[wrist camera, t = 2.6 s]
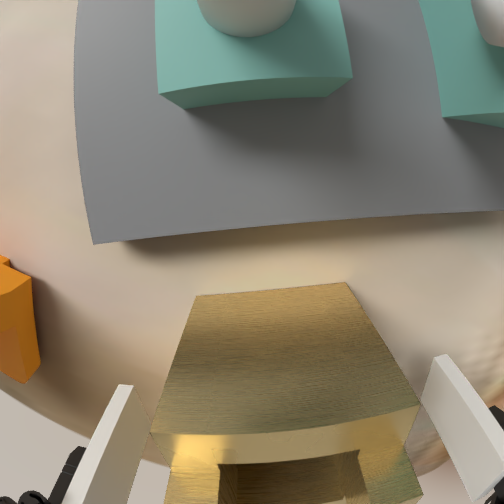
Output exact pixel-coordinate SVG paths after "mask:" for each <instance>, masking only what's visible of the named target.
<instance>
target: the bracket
mask: <svg viewBox="0 0 504 504" xmlns="http://www.w3.org/2000/svg"><path fill="white" fill-rule="evenodd" d="M40 364H41V361H40V355H39V349H38V343H37V336H36V329H35V320H34V311H33V299H32V284H31V277H30V276H27V275H25V274H23V273H21V272H19V271H16V270H14V269H12V268H10V259H8V258H6V257H4V256H1V255H0V371H2V372H3V373H5V374H6V375H8V376H10V377H11V378H13V379H15V380H16V381H18V382H20V383H23V384H25V383H26V382H27V381H28V380H29V378H30V377H31V376H32V375H33V373H34V372H35V371H36V370H37V369H38V367H39V366H40Z"/></svg>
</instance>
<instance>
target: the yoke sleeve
mask: <svg viewBox="0 0 504 504" xmlns="http://www.w3.org/2000/svg"><path fill="white" fill-rule="evenodd" d="M420 405H421V404H420V402H419V400H418V398H417V397H416V395H415V393H414V391H413V390H412V388H411V386H410V384H409V383H408V381H407V379H406V378H405V376H404V374H403V373H402V371H401V369H400V368H399V366H398V364H397V363H396V361H395V359H394V358H393V356H392V354H391V353H390V351H389V349H388V348H387V346H386V345H385V343H384V341H383V340H382V338H381V337H380V335H379V333H378V332H377V330H376V329H375V327H374V326H373V324H372V322H371V321H370V319H369V318H368V316H367V315H366V313H365V312H364V310H363V309H362V307H361V305H360V304H359V302H358V301H357V299H356V298H355V296H354V295H353V293H352V292H351V290H350V289H349V287H348V286H347V284H346V283H345V282H343V283H334V284H325V285H316V286H307V287H297V288H287V289H277V290H266V291H255V292H243V293H231V294H218V295H204V296H196V298H195V301H194V303H193V306H192V309H191V312H190V314H189V317H188V320H187V323H186V325H185V328H184V331H183V334H182V337H181V340H180V342H179V345H178V348H177V351H176V354H175V357H174V360H173V362H172V365H171V368H170V371H169V374H168V377H167V380H166V383H165V386H164V389H163V392H162V395H161V398H160V401H159V404H158V407H157V410H156V413H155V416H154V419H153V422H152V426H151V429H150V434H151V436H152V437H153V439H154V441H155V443H156V445H157V446H158V448H159V450H160V452H161V453H162V455H163V457H164V459H165V460H166V462H167V464H168V465H169V467H170V469H171V471H170V476H169V481H168V485H167V490H166V495H165V500H164V504H416V503H417V502H418V501H419V500H420V499H421V497H422V496H423V492H422V490H421V487H420V485H419V482H418V480H417V477H416V475H415V472H414V470H413V467H412V465H411V462H410V460H409V457H408V455H407V453H406V450H405V448H404V443H405V441H406V439H407V437H408V435H409V432H410V430H411V428H412V425H413V423H414V420H415V418H416V415H417V413H418V410H419V408H420Z"/></svg>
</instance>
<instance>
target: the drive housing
mask: <svg viewBox="0 0 504 504" xmlns="http://www.w3.org/2000/svg"><path fill="white" fill-rule="evenodd" d="M74 108H75V125H76V138H77V149H78V158H79V166H80V174H81V181H82V188H83V194H84V200H85V206H86V211H87V217H88V222H89V227H90V232H91V236H92V241H93V245H94V244H102V243H110V242H118V241H127V240H135V239H143V238H152V237H161V236H170V235H179V234H188V233H198V232H207V231H217V230H227V229H237V228H248V227H258V226H269V225H281V224H292V223H304V222H316V221H329V220H342V219H355V218H369V217H384V216H400V215H417V214H434V213H454V212H476V211H502V210H504V0H78V8H77V17H76V29H75V45H74Z"/></svg>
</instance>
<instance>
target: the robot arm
mask: <svg viewBox="0 0 504 504" xmlns="http://www.w3.org/2000/svg"><path fill="white" fill-rule="evenodd" d="M420 401H421V402H422V404H423V406H424V408H425V410H426V411H427V413H428V415H429V417H430V419H431V421H432V423H433V424H434V426H435V428H436V430H437V432H438V434H439V436H440V438H441V440H442V442H443V444H444V445H445V447H446V449H447V451H448V453H449V455H450V457H451V459H452V461H453V463H454V466H455V468H456V470H457V472H458V474H459V476H460V478H461V480H462V482H463V485H464V487H465V489H466V491H467V493H468V496H469V498H470V500H471V502H472V503H473V502H474V501H476V500H478V499H480V498H482V497H484V496H485V495H487V494H488V493H489V492H490V491H491V490H492V489H493V488H494V490H495V492H494V493H493V494H492V496H490V497H489V498H488V499H487V500H486V502H485V504H488V503H489V502H490V501H491V503H490V504H504V412H503V411H502V410H500V409H499V408H497V407H496V406H495V405H494V406H492V407H490V408H487V406H486V405H485V403H484V402H483V401H482V399H481V398H480V396H479V395H478V394H477V392H476V391H475V390H474V388H473V387H472V386H471V384H470V383H469V382H468V380H467V379H466V378H465V376H464V375H463V374H462V372H461V371H460V370H459V369H458V367H457V366H456V365H455V363H454V362H453V361H452V360H451V358H450V357H449V356H448V355H447V354H444V355H440V356H437V357H433V361H432V364H431V368H430V371H429V374H428V377H427V381H426V384H425V387H424V390H423V393H422V396H421V398H420ZM151 426H152V424H151V422H150V420H149V418H148V416H147V414H146V412H145V409H144V407H143V405H142V403H141V401H140V399H139V396H138V394H137V392H136V389H135V387H134V385H122V384H119V385H118V387H117V389H116V391H115V393H114V395H113V396H112V398H111V400H110V402H109V404H108V406H107V408H106V410H105V412H104V414H103V416H102V418H101V420H100V422H99V424H98V426H97V428H96V430H95V432H94V434H93V436H92V438H91V440H90V442H89V444H88V447H87V448H84V447H80V446H78V447H77V448H76V449H75V450H74V451H73V452H72V453H70V455H69V458H68V459H67V461H66V465H64V467H63V469H62V473H61V474H60V476H59V478H58V480H57V482H56V484H55V486H54V488H53V490H52V492H51V495H50V497H49V498H48V500H47V499H46V498H45V497H44V496H43V495H41V494H40V493H39V492H36V491H27V492H25V493H23V494H22V496H21V497H20V499H19V501H18V504H127V501H128V498H129V494H130V491H131V488H132V485H133V481H134V478H135V475H136V472H137V469H138V466H139V462H140V460H141V456H142V453H143V450H144V447H145V444H146V441H147V438H148V435H149V432H150V429H151ZM0 504H17V503H16V502H15V501H13V500H12V499H11V498H9V497H6V496H4V497H0Z"/></svg>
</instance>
